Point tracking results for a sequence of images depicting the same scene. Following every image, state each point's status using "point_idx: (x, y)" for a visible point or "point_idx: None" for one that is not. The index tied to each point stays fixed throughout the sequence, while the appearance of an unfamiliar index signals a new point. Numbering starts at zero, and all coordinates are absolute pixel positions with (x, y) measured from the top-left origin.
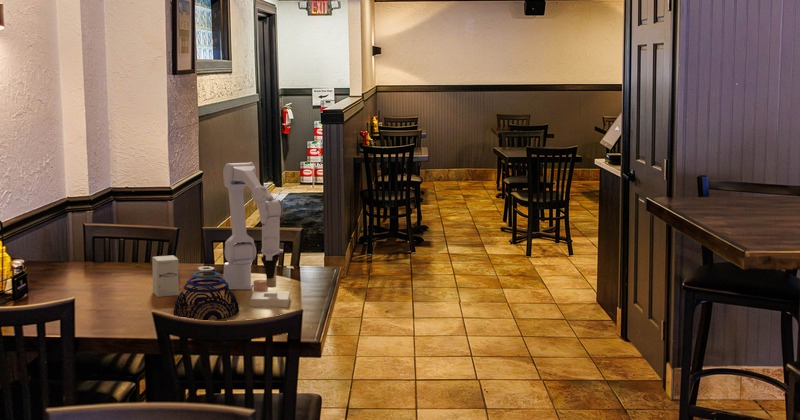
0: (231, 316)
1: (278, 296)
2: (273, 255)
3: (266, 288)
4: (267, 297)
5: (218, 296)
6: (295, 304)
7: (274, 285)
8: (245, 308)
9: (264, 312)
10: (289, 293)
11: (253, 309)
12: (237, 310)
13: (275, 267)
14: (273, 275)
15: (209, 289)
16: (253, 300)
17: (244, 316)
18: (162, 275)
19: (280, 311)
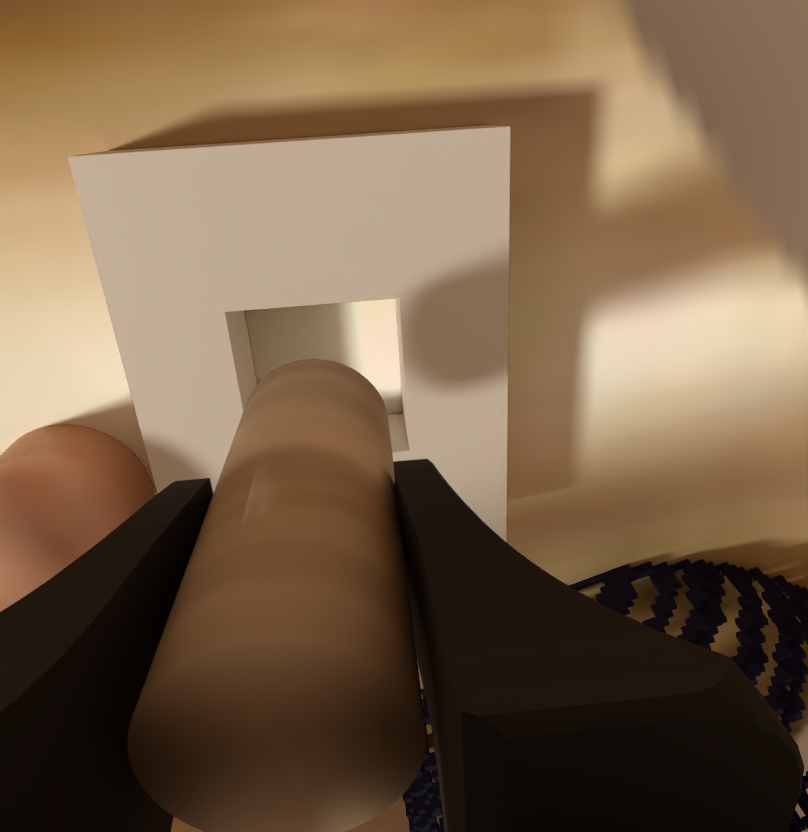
0: (782, 583)
1: (370, 279)
2: None
3: (58, 478)
4: (430, 402)
5: (428, 785)
6: (366, 28)
7: (365, 386)
8: (550, 533)
9: (692, 353)
10: (89, 154)
11: (584, 466)
12: (708, 578)
13: (341, 559)
14: (447, 484)
15: None
16: (501, 517)
17: (795, 495)
18: None
19: (672, 190)
